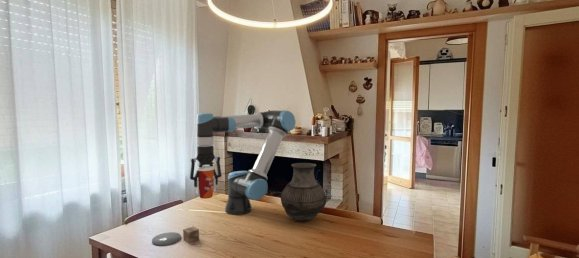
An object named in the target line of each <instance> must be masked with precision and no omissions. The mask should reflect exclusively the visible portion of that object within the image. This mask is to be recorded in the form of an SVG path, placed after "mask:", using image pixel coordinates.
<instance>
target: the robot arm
mask: <svg viewBox="0 0 579 258" xmlns="http://www.w3.org/2000/svg"><path fill="white" fill-rule="evenodd" d="M295 127H296V117H295V115H294V114H293V112H292V111H289V110H285V109H283V110H267V111H261V112H260V111H259V112H256V113H255V114H238V115H220V116H217V115H216V116H214V114H213V113H208V112H207V113H202V112H201V113H198V114H197V115H196V137H197V138H196V142H197V143H196V145H197V147H196V149H197V150H196V152H197V155H196V157H193V158H190V162H191V165H190V172H189V173H190V175H189V179H190V180H192V181H193V186H194V188H195V189H196V190H195V191H196V194H197V195H200V194H199V180H198V176H199V171H198V170H197V169H198V167H202V166H203V165H210V166H214V164H213V161H215V162H216V163H215V164H216V170H215V169H214V178H213V193H216V191H217V189H216V186H217V185H218V183H219V181H218V180H219V178H222V170H221V162H220V161H221V157H220V156H215V154H214V149H215V148H214V134H216V133H231V132H234V131H235V130H236V129H248V128H256V129H267V130H268V134H267V135H266V138H265V140H264V143H263V145H262V147H261V149H260V151H259V153H258V154H257V155H258V156H257V158H256V160H255V162H254V164H253V167H252V168H251V169H248V170H238V171H232V172H229V173H228V176H227V180H228V181H227V184H228V185H227V189H228V190H227V193H228V196H227V197H228V198H227V202H226V204H225V208H224V209H225V210H224V211H225V213H226V214H228V215H231V216H232V215H233V216H235V215H236V216H238V215H240V216H241V215H246V214H249V213H250V212H252V204H251V201H250V200H253V201H257V200H261V199H262V198H264V197H265V195H266V194H267V192H268V189H269V186H268V182H267V181H268V180H269V179H268V176H267V174H268V172H269V170H270V168H271V165H272V163H273V160H274V159H275V156H276V154H277V152H278V150H279V147H280V145H281V142H282V140H283V138H285V137H287V135H288V132H292V131H293V130H294V128H295ZM196 162H199V163H198V166H197V169H196V172H195V165H196ZM194 172H195V174H194Z"/></svg>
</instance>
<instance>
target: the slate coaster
mask: <svg viewBox="0 0 579 258" xmlns="http://www.w3.org/2000/svg"><path fill="white" fill-rule="evenodd" d="M181 238H182V235H181V234H180V233H178V232H171V231H170V232H163V233H160V234H157V235H155V236H154V237H152V239H151V243H152V245H154V246H159V247H160V246H162V247H163V246H164V247H165V246H170V245H173V244H175V243H178V242H179V241H180V240H181Z"/></svg>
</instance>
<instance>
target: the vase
mask: <svg viewBox="0 0 579 258" xmlns="http://www.w3.org/2000/svg"><path fill="white" fill-rule="evenodd" d="M291 167H292V169H293V172H292V178H291V181H289V182H288V183H287V184H286V185H285V187H284V188H283V190H282V191H281V194H280V202H281V206H282V207H283V209H284V211H285V213H286V215H287V216H288V217H289V218H291V219H293V220H296V221H299V222H300V221H301V222H304V221H305V222H307V221H310V220H312V219H314V218H315V217H316V216H317V215H318V214H320V213H321V212H322V210H323V209H324V208H325V207H326V203H327V195H326V193H325V190H324V189H323V187H322V185H321V184H320V183H319V182H317V179H316V178H315V168H316V167H317V163H311V162H295V163H291Z"/></svg>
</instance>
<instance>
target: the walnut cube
mask: <svg viewBox="0 0 579 258" xmlns="http://www.w3.org/2000/svg"><path fill="white" fill-rule="evenodd" d="M182 231H183V233H182V235H183V237H182V240H183V241H184V242H186V243H187V244H191V243H194V242H195V243H196V242H197V241H200V229H199V228H197V227H195V226H189V227H186V228H183V230H182Z"/></svg>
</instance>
